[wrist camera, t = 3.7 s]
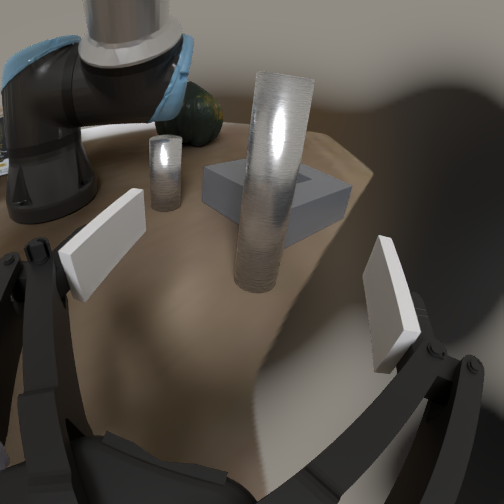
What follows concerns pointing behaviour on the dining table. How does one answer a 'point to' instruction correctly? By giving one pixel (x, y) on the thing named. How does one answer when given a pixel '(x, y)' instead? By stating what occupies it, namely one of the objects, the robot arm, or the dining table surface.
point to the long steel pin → (270, 176)
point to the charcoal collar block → (304, 202)
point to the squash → (195, 118)
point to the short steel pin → (165, 172)
